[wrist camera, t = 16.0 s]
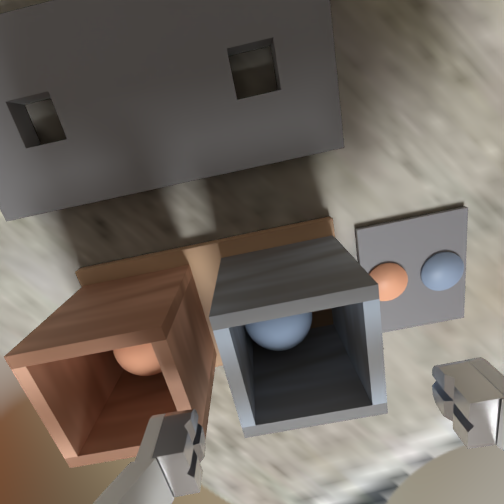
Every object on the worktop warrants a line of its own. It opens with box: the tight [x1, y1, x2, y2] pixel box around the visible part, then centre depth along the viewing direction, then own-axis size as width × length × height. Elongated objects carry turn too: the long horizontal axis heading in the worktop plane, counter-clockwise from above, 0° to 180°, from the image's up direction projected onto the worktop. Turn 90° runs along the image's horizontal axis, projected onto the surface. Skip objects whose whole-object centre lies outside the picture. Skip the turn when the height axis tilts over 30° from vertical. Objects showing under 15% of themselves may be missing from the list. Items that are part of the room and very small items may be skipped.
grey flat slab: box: [0, 0, 344, 221], centre depth 14 cm, size 8×17×1 cm, turn 102°
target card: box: [355, 207, 468, 333], centre depth 18 cm, size 7×6×1 cm
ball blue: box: [245, 312, 312, 351], centre depth 16 cm, size 4×4×4 cm
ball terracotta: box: [113, 343, 162, 376], centre depth 16 cm, size 4×4×4 cm
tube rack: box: [4, 216, 388, 468], centre depth 15 cm, size 8×14×7 cm, turn 102°
